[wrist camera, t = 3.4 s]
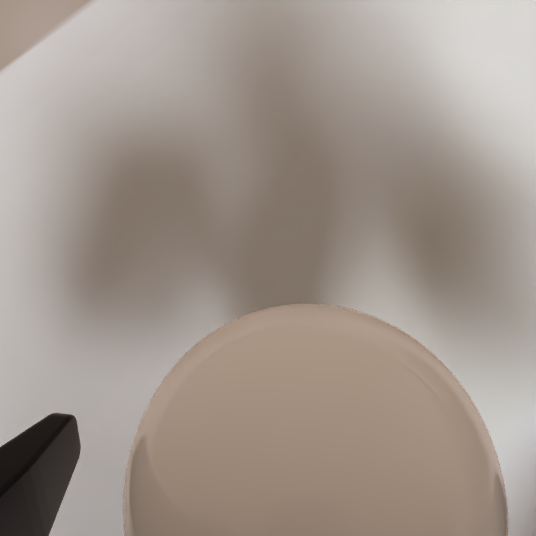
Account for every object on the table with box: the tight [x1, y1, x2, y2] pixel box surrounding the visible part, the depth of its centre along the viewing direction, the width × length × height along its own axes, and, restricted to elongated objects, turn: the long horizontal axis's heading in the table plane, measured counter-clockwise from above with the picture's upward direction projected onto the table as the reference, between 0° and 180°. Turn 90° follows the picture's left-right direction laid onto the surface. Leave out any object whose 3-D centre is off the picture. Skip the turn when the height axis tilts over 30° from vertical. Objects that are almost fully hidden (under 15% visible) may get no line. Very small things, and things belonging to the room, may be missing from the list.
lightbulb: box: [123, 304, 508, 536], centre depth 10 cm, size 6×6×11 cm
